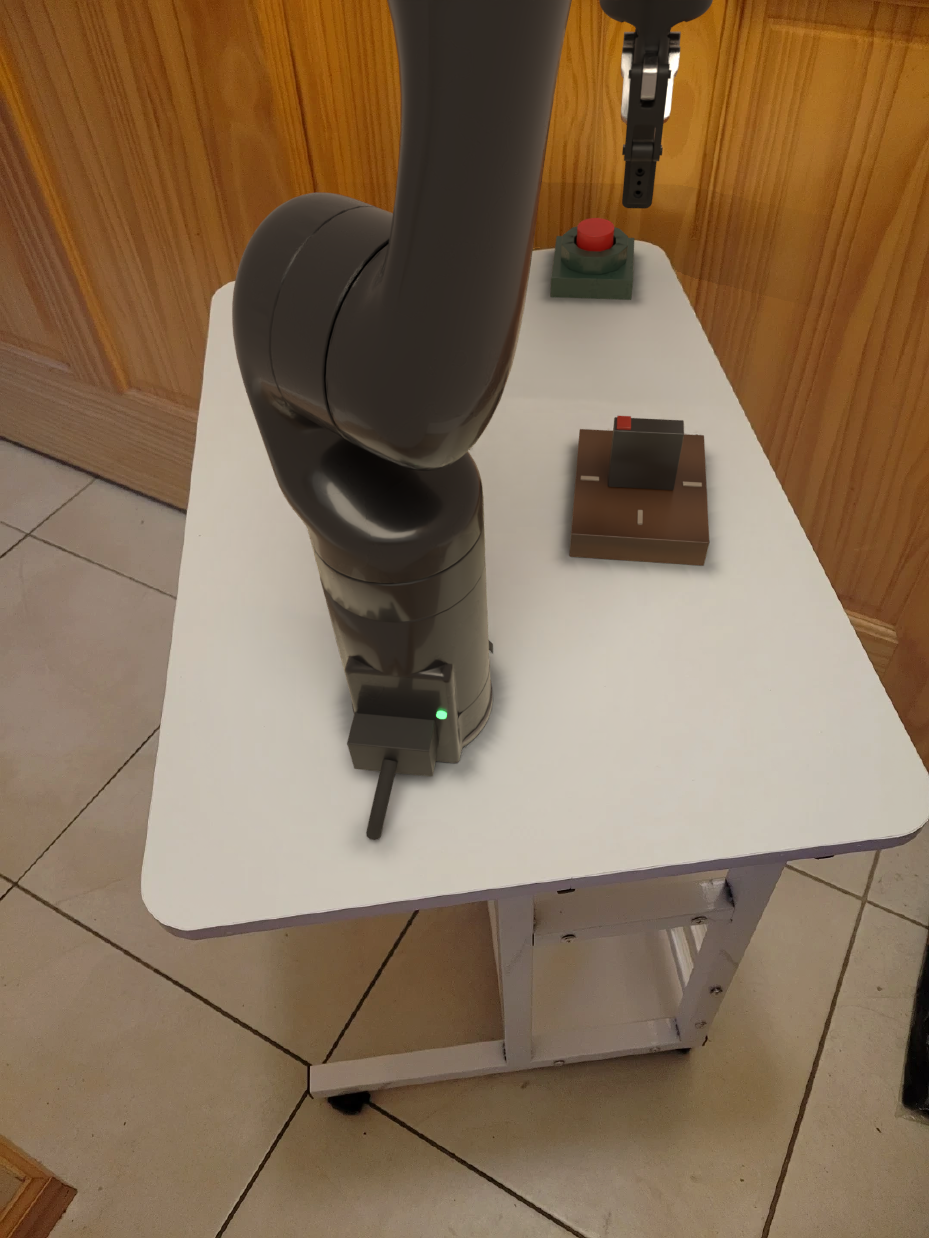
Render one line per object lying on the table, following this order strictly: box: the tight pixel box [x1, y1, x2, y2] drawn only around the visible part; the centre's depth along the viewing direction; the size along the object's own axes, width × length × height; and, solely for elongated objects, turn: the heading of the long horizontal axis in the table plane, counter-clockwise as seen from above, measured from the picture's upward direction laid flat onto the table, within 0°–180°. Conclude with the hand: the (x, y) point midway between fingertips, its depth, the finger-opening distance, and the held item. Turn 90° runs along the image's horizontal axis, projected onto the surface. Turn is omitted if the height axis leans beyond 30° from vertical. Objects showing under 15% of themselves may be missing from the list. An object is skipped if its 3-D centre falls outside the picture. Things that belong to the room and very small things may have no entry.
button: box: [577, 217, 615, 251], centre depth 88 cm, size 4×4×2 cm
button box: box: [550, 225, 635, 301], centre depth 90 cm, size 8×8×4 cm
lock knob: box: [608, 415, 685, 490], centre depth 67 cm, size 5×2×6 cm, turn 83°
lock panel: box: [568, 428, 710, 566], centre depth 70 cm, size 12×10×3 cm
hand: (638, 178), depth 69 cm, fingers open, 8 cm apart
